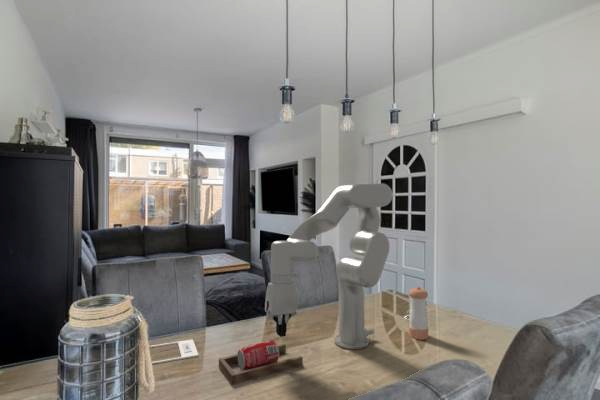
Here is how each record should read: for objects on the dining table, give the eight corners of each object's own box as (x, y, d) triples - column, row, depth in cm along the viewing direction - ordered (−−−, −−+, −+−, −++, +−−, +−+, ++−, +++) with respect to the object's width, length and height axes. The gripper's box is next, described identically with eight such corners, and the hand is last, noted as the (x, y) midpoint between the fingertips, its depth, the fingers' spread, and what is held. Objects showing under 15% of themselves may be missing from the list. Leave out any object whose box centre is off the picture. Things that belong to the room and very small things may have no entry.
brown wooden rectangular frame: (284, 350, 117) (284, 343, 117) (302, 365, 106) (302, 357, 106) (218, 366, 105) (218, 358, 105) (232, 384, 94) (232, 375, 94)
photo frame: (198, 354, 112) (138, 364, 105) (198, 357, 112) (138, 368, 105) (192, 338, 125) (139, 346, 118) (192, 341, 125) (139, 350, 118)
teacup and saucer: (426, 318, 153) (426, 309, 153) (422, 323, 147) (422, 314, 147) (406, 315, 158) (406, 306, 158) (401, 319, 151) (401, 310, 151)
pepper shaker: (407, 337, 130) (407, 287, 130) (410, 331, 136) (410, 284, 136) (427, 341, 126) (426, 289, 127) (429, 334, 133) (429, 286, 133)
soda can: (269, 350, 112) (235, 358, 106) (273, 334, 110) (238, 342, 103) (278, 367, 107) (242, 377, 101) (282, 351, 104) (246, 360, 98)
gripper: (296, 274, 117) (295, 327, 116) (256, 278, 109) (255, 335, 109) (307, 278, 110) (306, 334, 110) (266, 283, 103) (265, 343, 102)
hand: (281, 335), depth 109 cm, fingers closed
